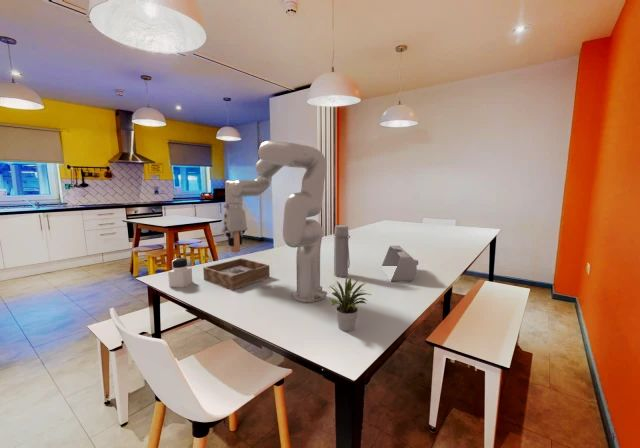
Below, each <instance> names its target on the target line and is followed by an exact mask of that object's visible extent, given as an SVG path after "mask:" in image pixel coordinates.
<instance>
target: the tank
mask: <svg viewBox="0 0 640 448" xmlns="http://www.w3.org/2000/svg"><path fill="white" fill-rule="evenodd" d="M382 266H397V268H396V270H395V272H394V275H393V277H392V279H391V281H390V282H400V281H410V282H411V281H412V280H413V278H414V277H415V276H417V269H418V266H419V260H418V259H414V258H413V257H412V256H411V255H410V254H409V253H408V252H407V251H406V250H405V249H403V247H402V246H400V245H389V247H388V249H387V252H386V255H385V257H384V259H383V262H382V264H381V267H382Z"/></svg>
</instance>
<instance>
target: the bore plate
mask: <svg viewBox="0 0 640 448" xmlns="http://www.w3.org/2000/svg"><path fill="white" fill-rule="evenodd" d="M249 270H252V269H250V268H247V267H243V266H237V267H233V268H229V269H226V270H222V271H219V272H222V273H225V274H228V275H231V276H232V275H235V274H239V273H242V272H246V271H249Z"/></svg>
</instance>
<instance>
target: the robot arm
mask: <svg viewBox="0 0 640 448" xmlns="http://www.w3.org/2000/svg"><path fill="white" fill-rule="evenodd" d="M257 151H258V154H257V155H258V157H259V160H258V161H257V162H256V163H255V170H256V172H257V173H258V177H256V178H255V179H239V180H233V179H231V180H226V181H225V183H224V189H225V193H224V195H225V197H224V198H225V204H224V205H223V208H224V209H225V210H224V213H223V228H222V230H221V232H220V233H222V234H224V235H225V236H226V237H227V240H228V241H227V242H228V246H229V247H231V246H234V238H232V237H233V232H235V231H239V239H240V245H242V244H243V236H244V234H245V232H246V231H247V230H248V229H249V228H248V226H247V217H246V212H245V209H243V208H244V207H243V198H247V197H248V198H249V197H258V196H260V195H262V194H264V192H265V191H267V189H269V187H270V186H271V184H272V180H273V176H274V175H276V174H277V173H278V172H279V171H280V170H281V169H282V168H283V167H288V168H296V169H297V168H299V169H306V170H305V172H304V175H303V176H302V180H301V188H300V192H294V193H292V194H290V195H289V196H288V197H287V199H286V201H285V203H284V208H283V209H284V211H283V221H282V222H283V223H282V224H283V225H282V238H283V240H284V243H285V245H287V246H288V247H290V248H294V249H295V248H297V249H296V258H295V259H296V260H295V261H296V262H295V263H296V290H295V291H294V292H293V293H292V297H293V299H294V300H296V302H303V303H315V302H319V301H321V300H322V299H323V300H324V299H326V298H327V295H328V292H327V291H325V290H323V286H321V247H322V246H321V245H322V240H323V227H322V225H321V223H319V221H317V220H316V219H311V218H312V217H316V216H317V215H319V214H320V213H321V212H322V208H323V207H322V206H323V200H324V188H325V180H326V174H327V173H326V172H327V160H326V158H325V155H324V154H323V152H321V151H320V150H319V149H318V148H315V147H314V146H309V145H306V144H300V143H294V142H288V141H276V140H272V139H271V140H265V141H263V142H261V144H260V145H259V148H258V150H257ZM308 218H309V219H308Z"/></svg>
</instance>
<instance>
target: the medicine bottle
mask: <svg viewBox="0 0 640 448" xmlns="http://www.w3.org/2000/svg"><path fill="white" fill-rule="evenodd" d="M171 265H172V266H171V267H172V269H171V270H169V271H168V272H167V275H168V286H169V288H186V287H187V286H189V285H190V284H192V283H193V269H192V267H189V266H188V259H187V258H184V257H179V258H174V259H173V260H172V261H171Z"/></svg>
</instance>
